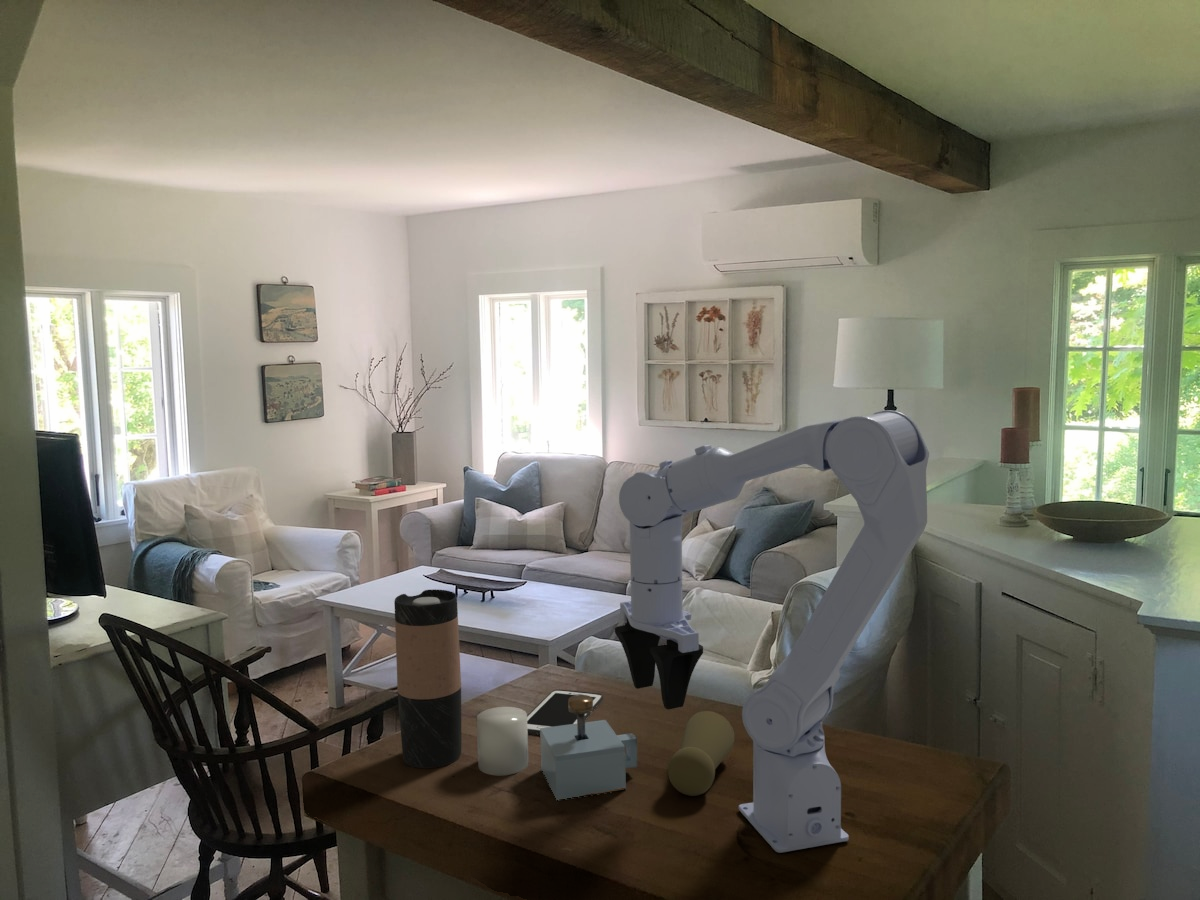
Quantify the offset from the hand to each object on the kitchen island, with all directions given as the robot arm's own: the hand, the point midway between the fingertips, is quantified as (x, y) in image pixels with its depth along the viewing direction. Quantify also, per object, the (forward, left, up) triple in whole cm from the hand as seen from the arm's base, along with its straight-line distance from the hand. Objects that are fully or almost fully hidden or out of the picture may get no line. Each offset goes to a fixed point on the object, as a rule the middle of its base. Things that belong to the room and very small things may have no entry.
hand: (658, 696), depth 104 cm
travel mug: (+16, +24, -11) cm, 31 cm away
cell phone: (+24, +6, -11) cm, 27 cm away
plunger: (+4, +8, -7) cm, 11 cm away
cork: (+5, -8, -7) cm, 12 cm away
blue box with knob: (+4, +7, -10) cm, 13 cm away
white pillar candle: (+11, +16, -10) cm, 22 cm away
